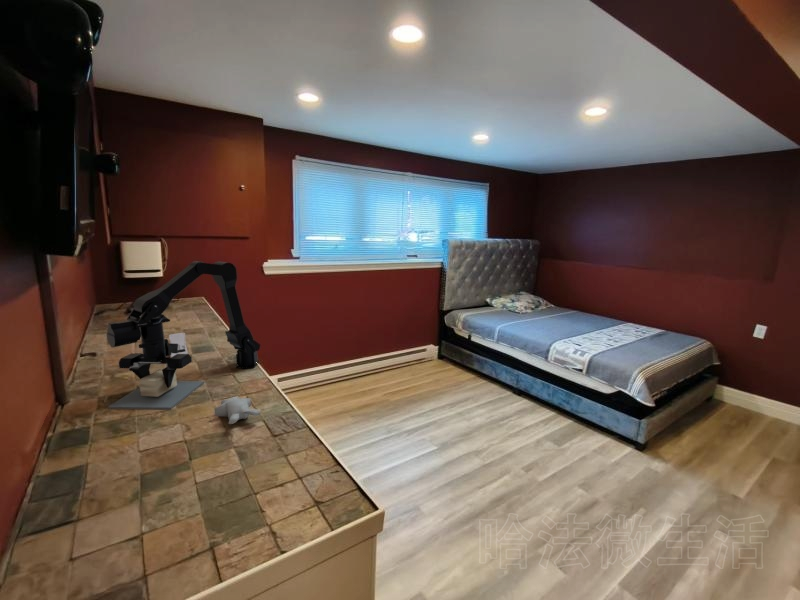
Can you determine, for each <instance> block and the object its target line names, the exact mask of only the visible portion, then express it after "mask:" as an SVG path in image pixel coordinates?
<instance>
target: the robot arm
mask: <svg viewBox="0 0 800 600" xmlns="http://www.w3.org/2000/svg"><path fill="white" fill-rule="evenodd" d="M237 273H238V270H237V267H236V265H235V264H233V263H231V262H226V261H215V262H213V263H207V262H204V261H197V260H194V261H192V262H190V263H189V265H187V266H186V267H185V268H184V269H182V270H181V271H180V272H179V273H178V274H176V275H175V276H174V277H172V278H171V279H170V280H168V281H167V282H166V283H165V284H163V285H162V286H161V287H159V288H158V289H154V290H152V291H149V292H147V293H146V294H144V295H142V296H139V297H138V298H137V299H136V300H135V301H134V303H133V309H132V310H131V312H130V313H129V315H128V317H127V318H126V320H124V321H117V322H116V321H113V322H109V323H107V326H108V327H107V329H106V330H107V331H106V333H105V334H106V339H107V341H108V344H109V346H110V347H111V348H117V347H121V346H127V345H130V344H135V343H137V342H139V341H140V340H141V343H140V344H138V348H139V349H142V353H135V352H134V353H129V354H127V355H125V356H123V357H120V359H119V360H118V368H119V369H128V371H129V372H132V373H133V374H134V375H136V377H137V378H139V379H141V378H144V377H146V376H148V375H150V374H151V371H150V367H151V365H153V364H154V365H166V367H165V368H163V369H161V370H162V372H163V376H164V379H165V383H166V386H167V388H169V387H171V384H172V380H173V377H174V374H175V371H177V370H178V369H179V370H181V369H183V368H184V367H186V366H188V365H189V364H191V363H192V361H193V360H192V356H191V355H190V354H189V353H188V354H176V355H175V356H173V357H170V355H171V353H177V351H178V344H173V343H170V342H169V340H168V338H165V331H164V323H169V322H171V319H170V318H168V317H166V316H165V315H164V314H163V313H164V312H165V311H166V310H167V309H168V307H169V306H170V304H171V301H173V299H174V298H175V297H177V296H178V295H179V294H180V293H181V292H183V290H185V289H186V288H187V287H189V286H190V285H191V284H192V283H193V282H195V281H196V280H197V279H199V278H200V277H201V276H202V275H210V276H211V277H212V279H213V281H214V282H215V283H216V285H217V286H218V288H219V289H220V292H221V295H222V300H223V304H224V306H225V307H224V308H225V312H226V315H227V319H228V322H229V328H228V330H225V335H226V338H227V339H226V341H227V343H229V344H230V345H231V346H233V349H235V350H236V354H235V358H236V366H235V369H255V367H257V365H258V364H260V362H261V361H260V360H259V359H258V351H260V348H261V344H260V343H259V342H257V341H256V340H255V339H254V336H253V334H252V332H251V330H250V329H249V327H248V326H247V325H246V323H245V321H244V317H243V311H242V308H241V304H240V300H239V296H238V293H237V288H236V285H237V281H238V274H237ZM168 356H169V357H168ZM256 362H257V363H258V364H257V363H256ZM256 364H257V365H256Z"/></svg>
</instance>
